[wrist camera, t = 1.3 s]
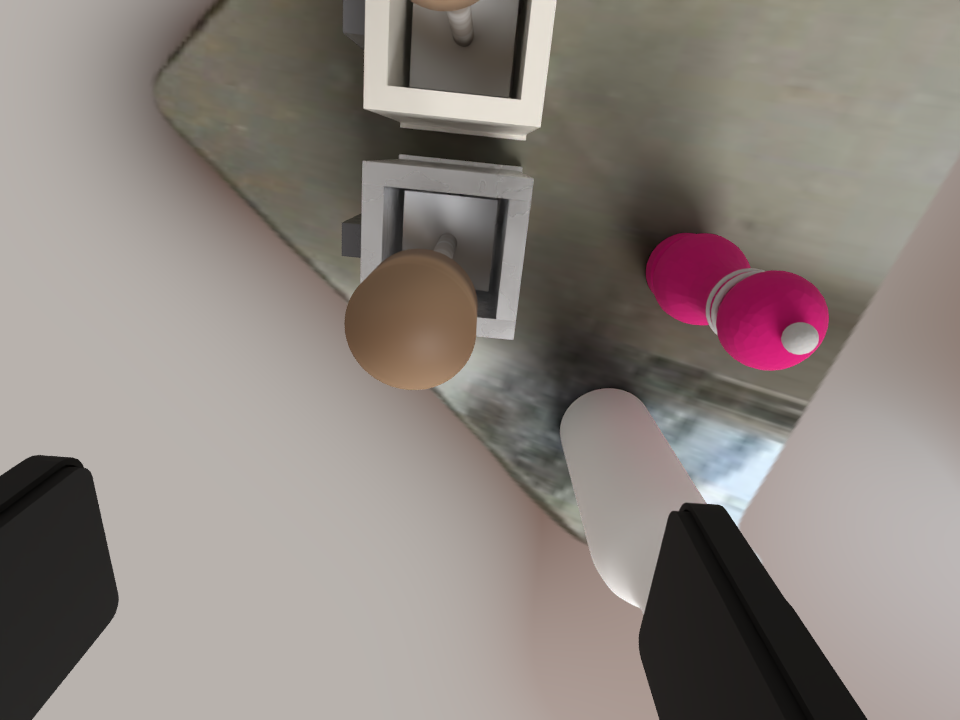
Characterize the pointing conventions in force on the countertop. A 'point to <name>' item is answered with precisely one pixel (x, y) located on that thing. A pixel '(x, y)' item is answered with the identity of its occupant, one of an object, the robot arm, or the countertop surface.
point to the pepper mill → (738, 300)
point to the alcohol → (623, 486)
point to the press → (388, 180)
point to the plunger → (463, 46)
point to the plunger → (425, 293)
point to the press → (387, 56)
